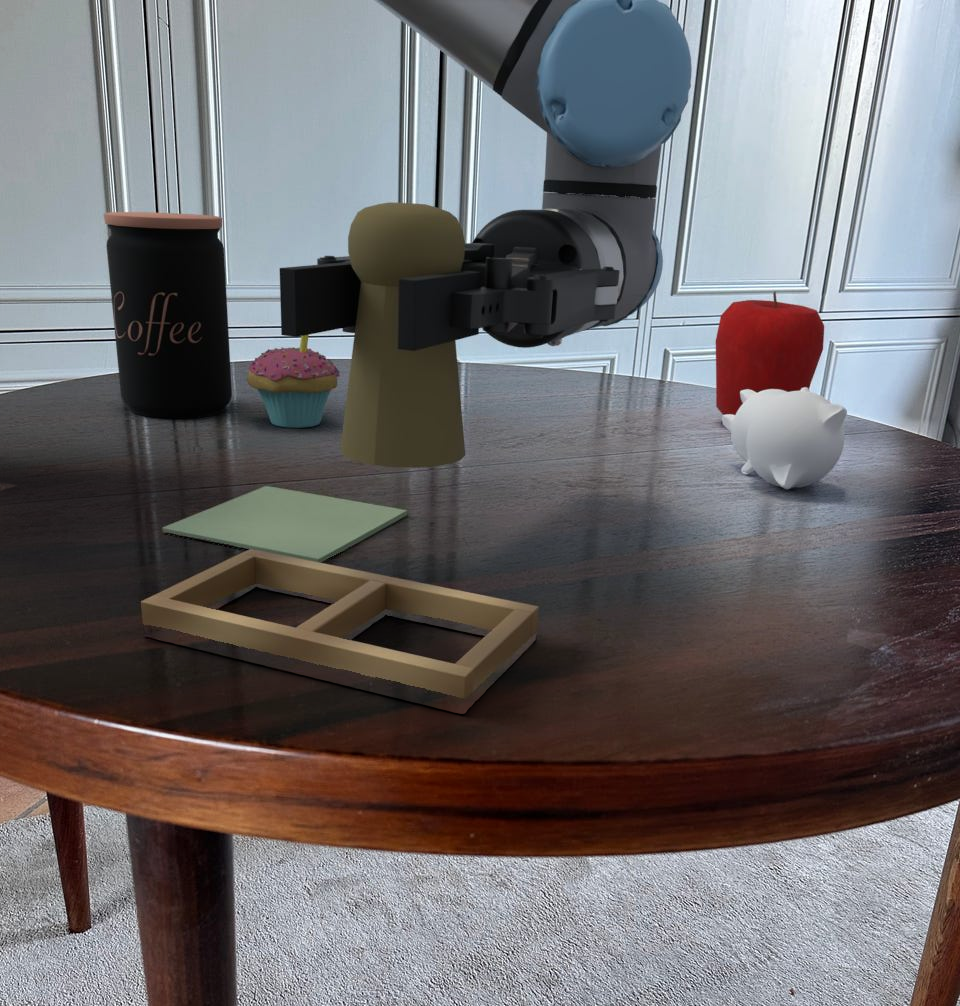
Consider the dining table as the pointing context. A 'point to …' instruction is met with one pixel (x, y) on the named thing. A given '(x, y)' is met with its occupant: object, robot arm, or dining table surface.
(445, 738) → the dining table surface
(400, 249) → the cork
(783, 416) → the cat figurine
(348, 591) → the stand
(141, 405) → the coffee jar
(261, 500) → the mat
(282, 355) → the cupcake
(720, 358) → the apple
